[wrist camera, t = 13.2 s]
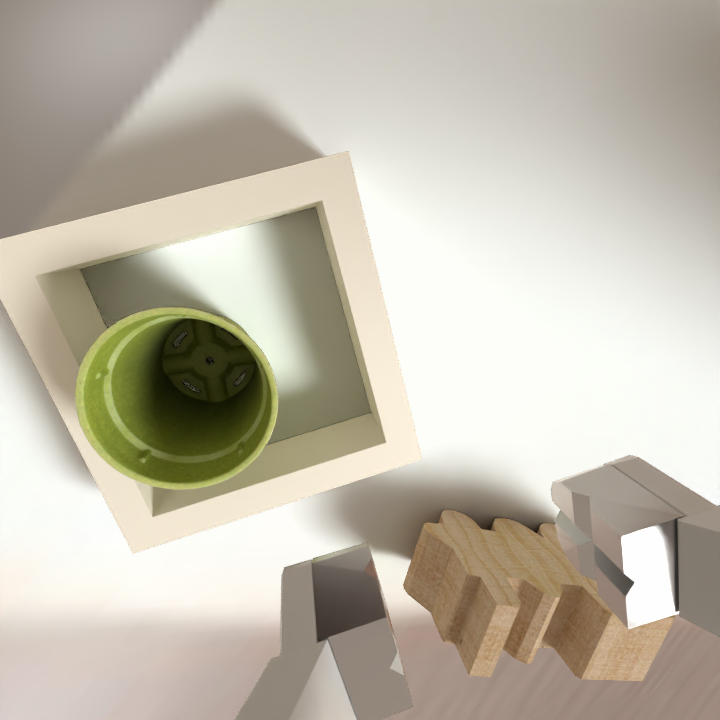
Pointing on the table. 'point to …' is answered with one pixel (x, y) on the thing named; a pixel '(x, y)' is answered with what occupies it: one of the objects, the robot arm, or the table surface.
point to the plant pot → (176, 398)
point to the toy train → (522, 600)
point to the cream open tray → (186, 222)
